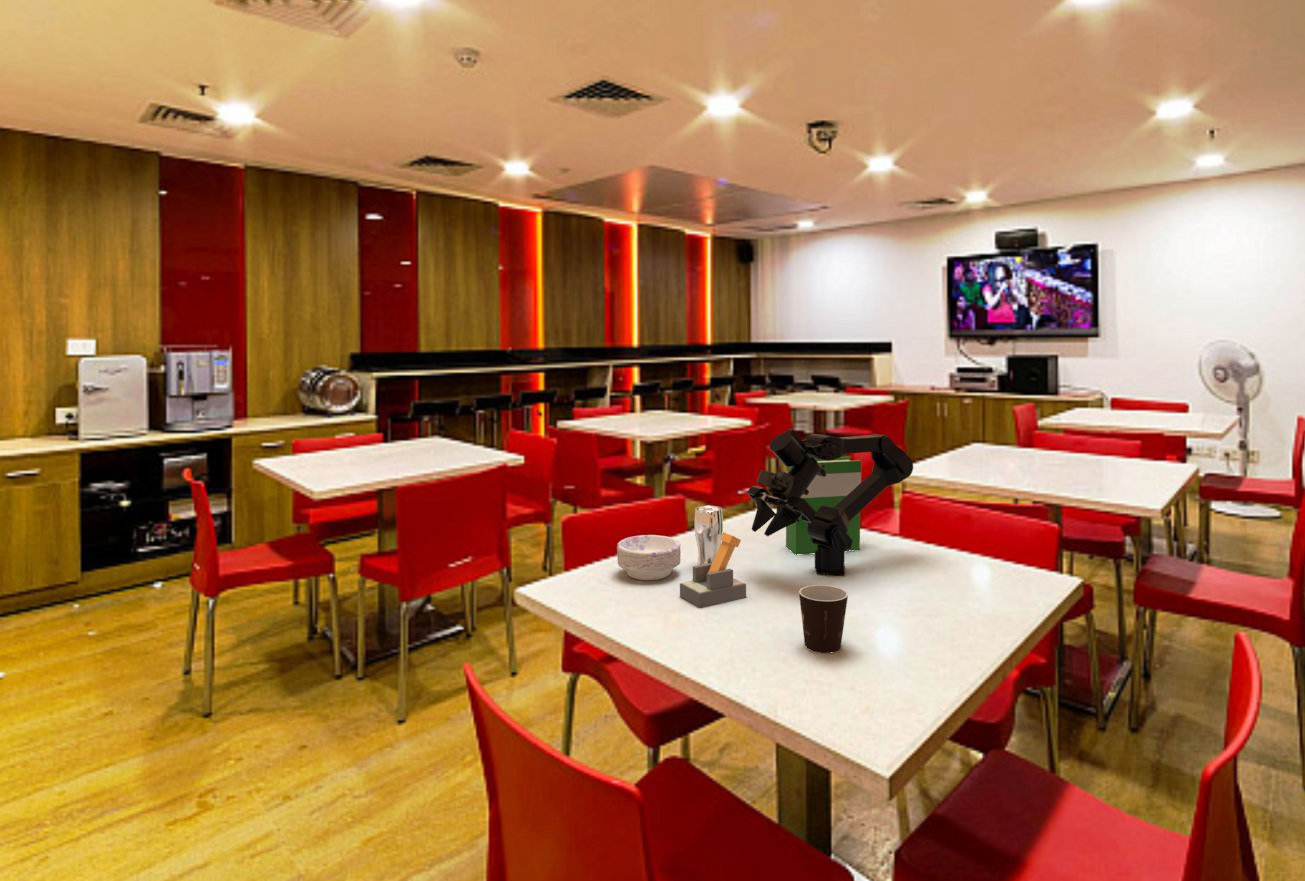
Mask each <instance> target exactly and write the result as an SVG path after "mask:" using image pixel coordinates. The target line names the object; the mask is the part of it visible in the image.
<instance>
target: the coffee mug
mask: <svg viewBox="0 0 1305 881" xmlns="http://www.w3.org/2000/svg"><path fill="white" fill-rule="evenodd" d="M848 596H849V593H848V592H847V591H846V589H843V588H841V587H837V586H833V585H827V584H814V585H813V584H812V585H807V586H803V587H801V588H800V589H799V590H798V597H799V606H800V614H801V624H802V632H803V640H804V646H806V647H807V648H806V647H805V648H806V649H807V650H809V649H810V650H809V651H811V650H812V651H811V652H813V653H814V652H815V653H819V652H820V654H832V653H831V652H833V653H836V652H838V651H840V650H841V647H842V640H843V634H844V633H843V632H844V626H845V619H846V612H847V604H848Z"/></svg>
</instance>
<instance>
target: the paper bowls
mask: <svg viewBox="0 0 1305 881" xmlns="http://www.w3.org/2000/svg"><path fill="white" fill-rule="evenodd" d="M616 550H617V551H616V552H617V557H616V558H617V565H618V566H619V567H620V568H621V569H624V570H625V571H626V573H627V575H628V576H629V577H631V578H632V579H635V580H640V581H656V580H657V581H658V580H661V579H665V578H667V577H668V576H669V575H670V574H671V573H672V571H673V569H674V568H677V567H678V566H679V565H680V564H681V560H682V559H681V543H680V541H679V540H678V539H676V538H673V537H670V536H666V535H656V534H646V535H645V534H641V535H635V536H629V537H626V538H624V539H621V540H620V541H619V542H618V543H617V545H616Z"/></svg>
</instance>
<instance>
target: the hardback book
mask: <svg viewBox="0 0 1305 881" xmlns="http://www.w3.org/2000/svg"><path fill="white" fill-rule="evenodd" d="M851 458H852V457H851V456H841V457H840V458H838V459H834V460H831V461H826V460H820V459H815V458H814V459H815V460H816V461H817V462H818V463H819V464H822V465H825V471H826V476H825V477H823V476H818V475H816V477H815V478H814V479H813V481H812V482H811V484H810V485H809V486H808V488H807V490H808V491H809V493H808V495H802V496H801V498H803V499H805V500H806V501H807V502H808V503H809V504H810V505H811V506H812V507H813V509H814V510H815V511H816V512H817V511H818V509H819V508H820V507H821V506H823V505H824V506H828V507H831V508H833V507H835V506H836V505H837V504H838V503H839V502H840V501H841V500H843V499H844V498H845V497H846V496H847V495H848V494H849V493H850V492H851V491H853V490H854V489H855V488H856V487H857V486H858V485H859V484H860V483H861V482H862V460H860V459H859V460H851ZM785 467H786V470H785V471H786V473H787V472H788V471H789V470H790V468H791V467H792V466H789V467H787V466H785ZM798 519H799V520H800V521H799V522H798V523H797V522H796V523H793V524H791V525H789V526H787V527H785V548H786V547H787V548H788V549H787V548H786V549H787V550H789V551H790V550H791V551H792V552H791V551H790V552H791V553H792V554H794V555H795V554H796V555H795V556H798V555H797V554H804V555H810V554H809V553H815V550H817V547H818V545H817V544H813V543H812V541H811V538H810V535H809V534H808V522H805V521H803V520H802V514H801V515H800V517H799V518H798ZM847 534H848V535H849V537H850V538H851V539H852V540H853V542H852V546H851V549H847V550H846V551H847V552H850V551H849V550H860V547H861V545H860V544H861V542H860V541H861V511H860V512H859V513H858V514H857V515H856V516H855V517H854V518H853V519H852V520H851V521H850V522H849V527H848V531H847Z"/></svg>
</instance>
